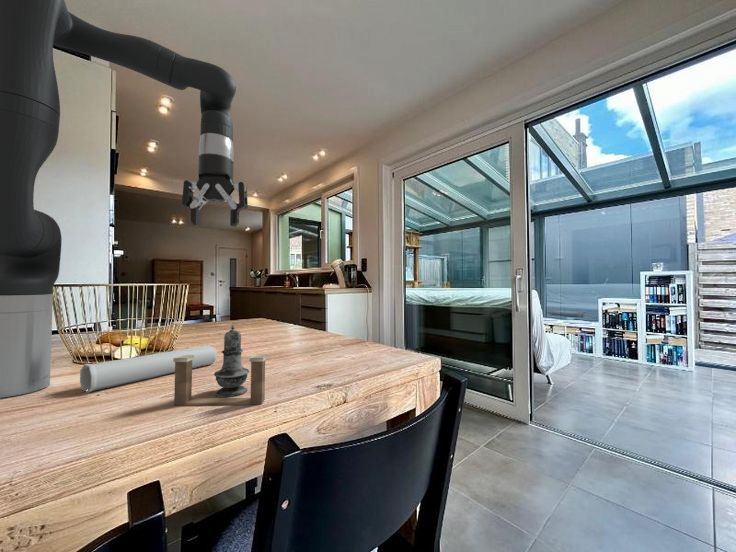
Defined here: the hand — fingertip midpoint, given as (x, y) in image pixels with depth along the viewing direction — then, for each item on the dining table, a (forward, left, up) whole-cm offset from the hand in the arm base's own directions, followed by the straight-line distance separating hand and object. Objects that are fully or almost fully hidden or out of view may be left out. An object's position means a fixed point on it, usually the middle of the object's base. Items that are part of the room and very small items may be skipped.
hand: (215, 226), depth 75 cm
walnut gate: (+11, -23, -33) cm, 42 cm away
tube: (-8, -7, -34) cm, 35 cm away
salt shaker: (+11, -18, -33) cm, 39 cm away
